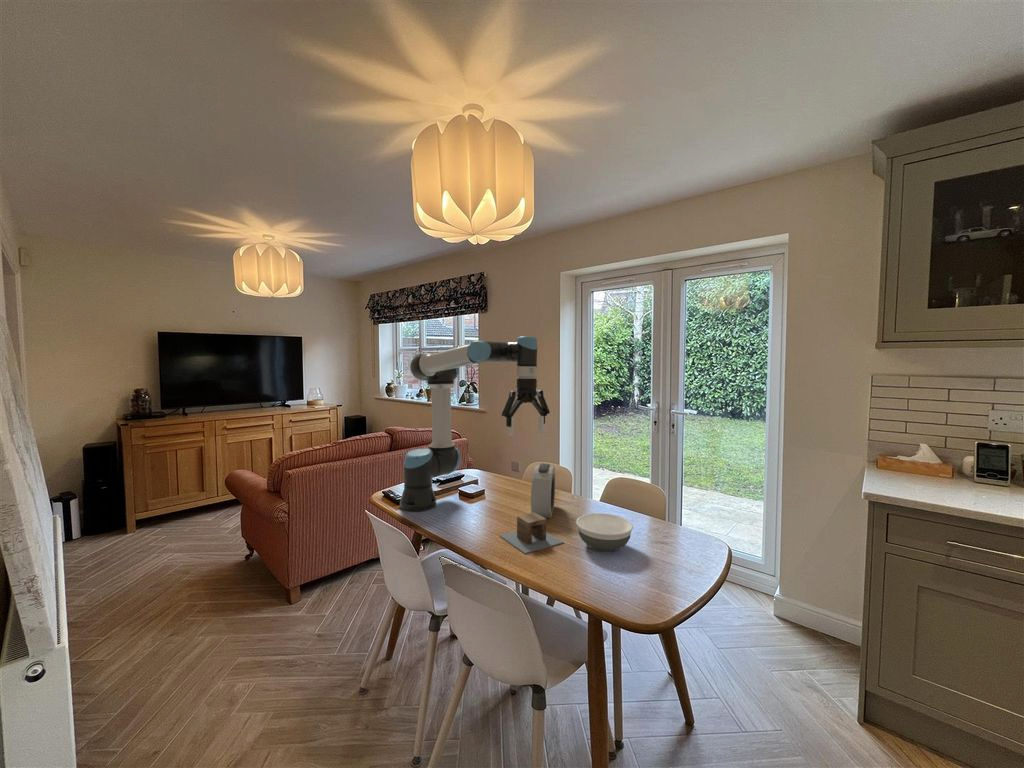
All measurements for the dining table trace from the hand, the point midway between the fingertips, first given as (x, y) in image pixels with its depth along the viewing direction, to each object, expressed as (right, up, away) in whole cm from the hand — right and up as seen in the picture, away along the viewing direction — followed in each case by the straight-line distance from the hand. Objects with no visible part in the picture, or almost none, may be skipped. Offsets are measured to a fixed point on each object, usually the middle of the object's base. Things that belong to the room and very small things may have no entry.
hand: (526, 434), depth 161 cm
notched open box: (+1, -35, -12) cm, 37 cm away
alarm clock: (+8, -34, +15) cm, 38 cm away
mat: (+1, -36, -12) cm, 38 cm away
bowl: (+26, -36, -17) cm, 48 cm away
